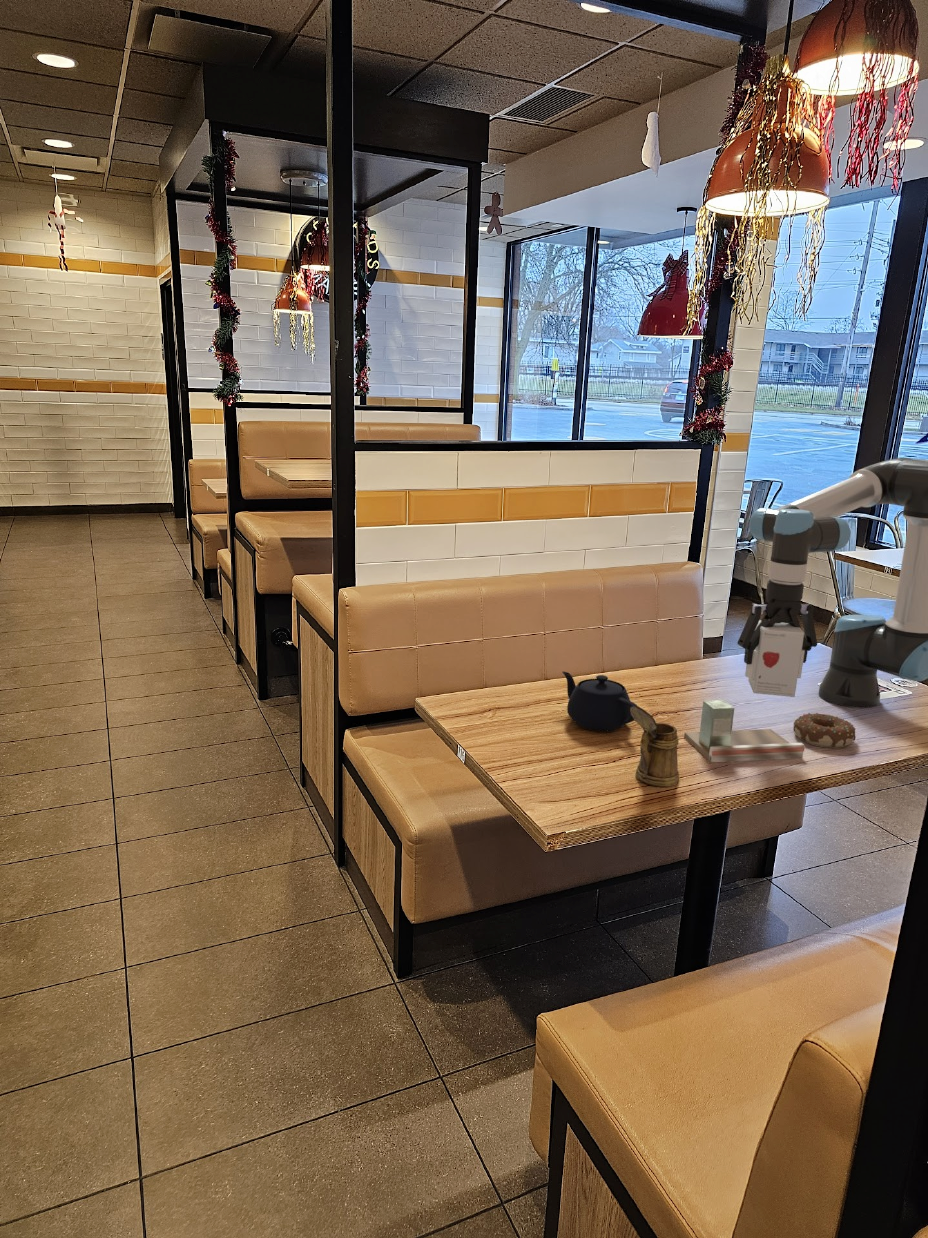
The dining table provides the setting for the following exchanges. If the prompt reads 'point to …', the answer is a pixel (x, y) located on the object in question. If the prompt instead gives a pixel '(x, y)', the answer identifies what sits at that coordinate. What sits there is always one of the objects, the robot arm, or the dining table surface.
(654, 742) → the wooden mug
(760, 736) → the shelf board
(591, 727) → the teapot
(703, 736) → the tea tin
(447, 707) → the dining table surface
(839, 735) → the donut
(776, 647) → the supplement box
